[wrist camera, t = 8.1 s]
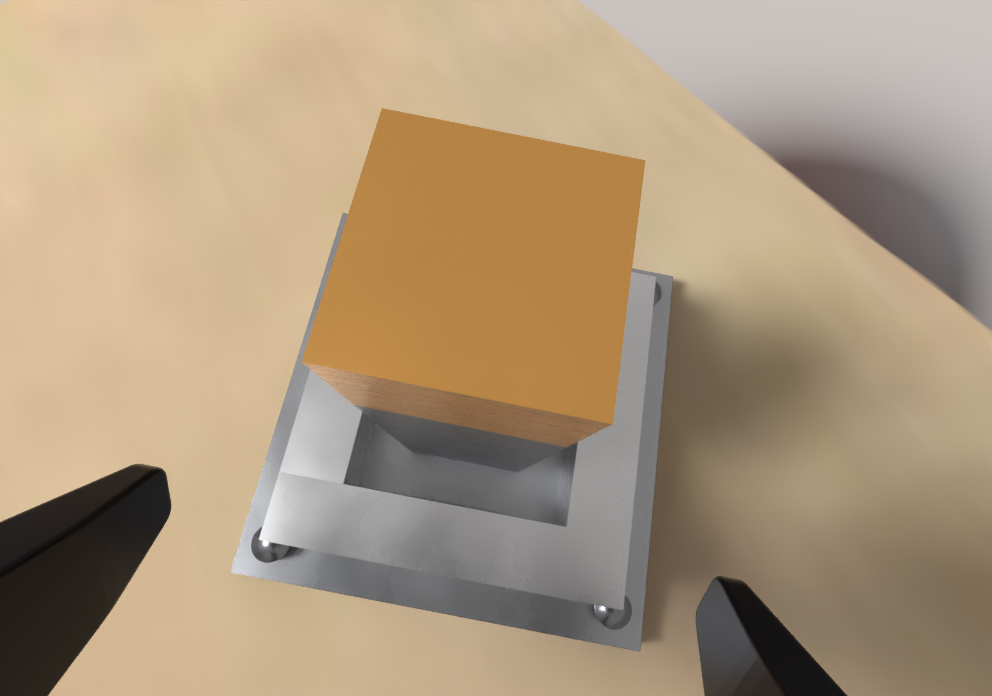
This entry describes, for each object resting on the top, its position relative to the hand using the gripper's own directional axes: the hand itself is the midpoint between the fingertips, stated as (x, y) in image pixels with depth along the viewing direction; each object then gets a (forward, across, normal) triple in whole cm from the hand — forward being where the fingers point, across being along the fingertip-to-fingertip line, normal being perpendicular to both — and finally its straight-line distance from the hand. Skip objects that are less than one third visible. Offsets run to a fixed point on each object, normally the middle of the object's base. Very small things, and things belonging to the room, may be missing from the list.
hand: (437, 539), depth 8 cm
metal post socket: (+10, 0, +5) cm, 12 cm away
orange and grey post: (+10, 0, +4) cm, 11 cm away
